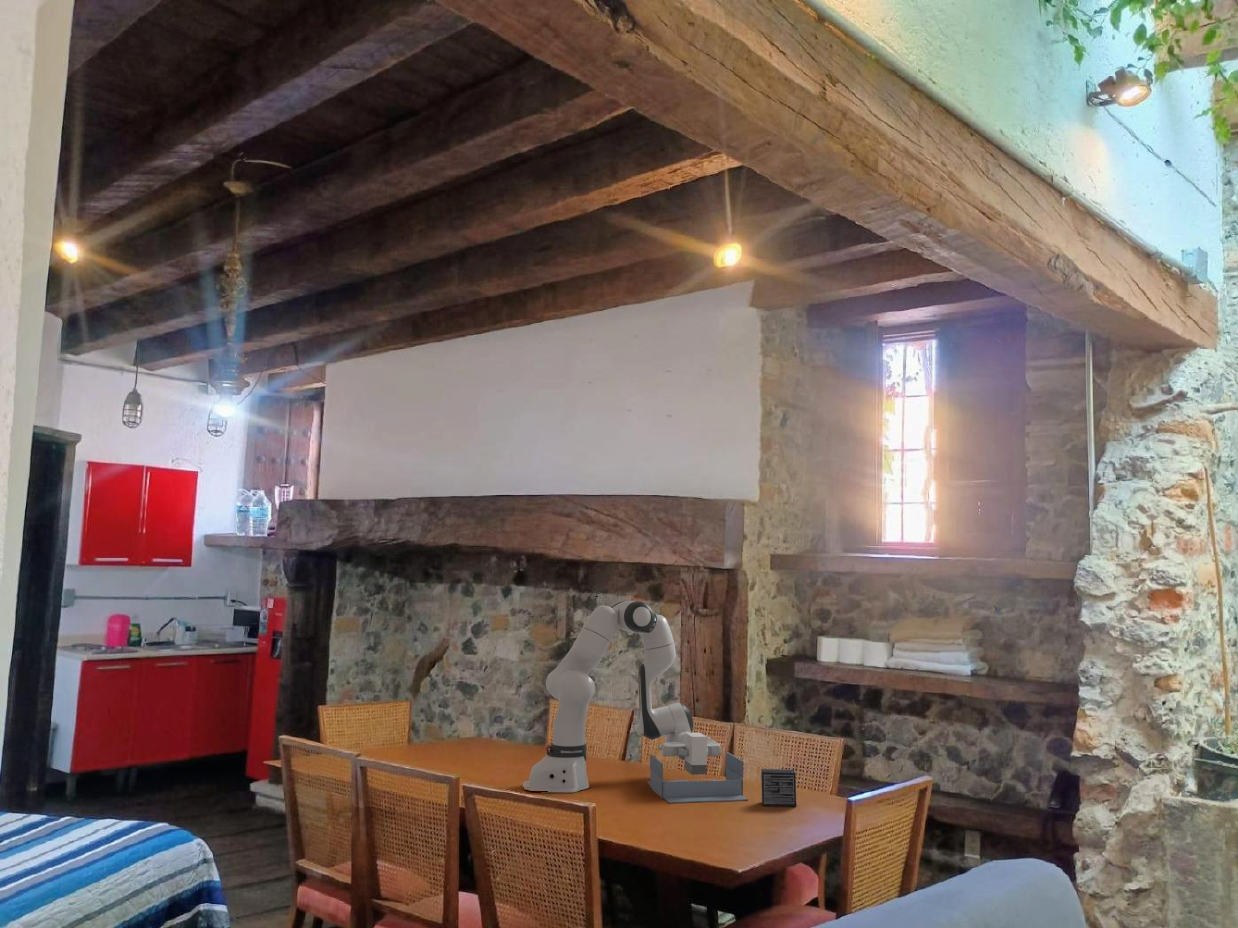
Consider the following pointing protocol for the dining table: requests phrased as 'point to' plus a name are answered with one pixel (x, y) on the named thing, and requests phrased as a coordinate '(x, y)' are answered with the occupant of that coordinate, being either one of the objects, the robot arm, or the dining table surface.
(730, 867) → the dining table surface
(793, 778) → the small box
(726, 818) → the dining table surface
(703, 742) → the box
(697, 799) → the blue-grey open walled piece
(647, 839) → the dining table surface
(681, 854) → the dining table surface
